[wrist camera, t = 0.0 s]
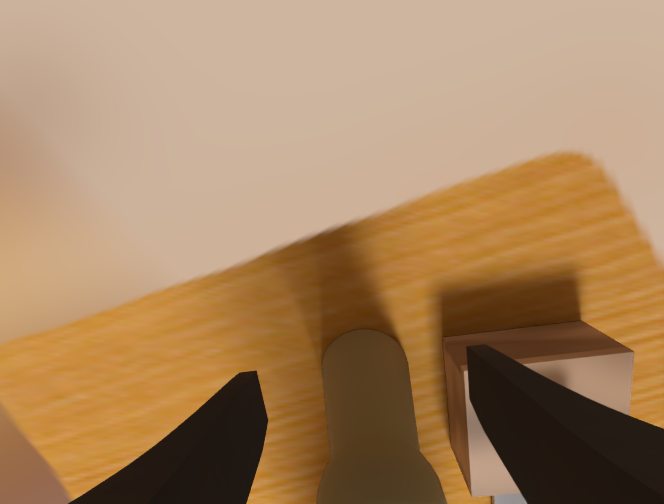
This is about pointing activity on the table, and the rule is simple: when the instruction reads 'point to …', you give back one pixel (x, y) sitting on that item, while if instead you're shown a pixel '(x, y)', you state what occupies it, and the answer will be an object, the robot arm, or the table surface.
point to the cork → (372, 426)
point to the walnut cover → (544, 358)
